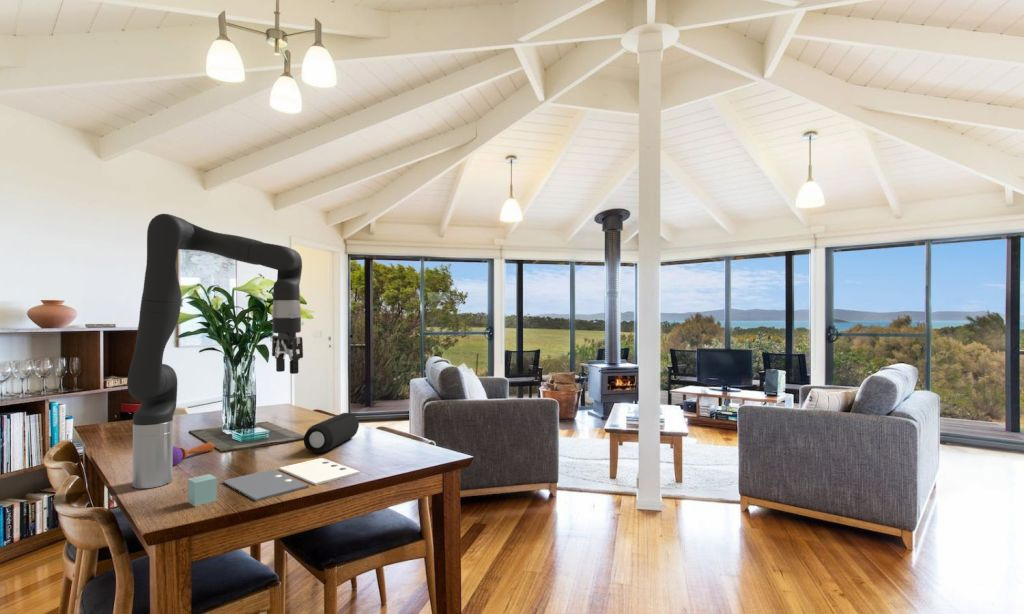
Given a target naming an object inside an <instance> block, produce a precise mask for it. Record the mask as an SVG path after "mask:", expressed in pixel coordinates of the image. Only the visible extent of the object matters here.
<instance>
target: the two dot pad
mask: <svg viewBox="0 0 1024 614" xmlns="http://www.w3.org/2000/svg"><path fill="white" fill-rule="evenodd" d="M222 482H223V483H222ZM221 483H222V484H224V483H225V484H227V485H229V486H230V487H229V486H228V487H229V488H231V487H232V488H231V489H233V488H234V489H233V490H235V489H236V490H238V491H239V492H238V491H237V492H238V493H240V492H241V493H240V494H242V493H243V495H244V494H245V495H244V496H245V497H247V496H248V497H247V498H249V499H251V500H253V501H255V502H260V501H263V500H266V499H269V498H270V499H271V498H273V497H278V496H281V495H285V494H288V493H292V492H296V491H300V490H304V489H308V488H309V487H310V485H309V484H307V483H306V482H303V481H301V480H298V479H295V478H293V476H289V475H286V474H285V473H282V472H280V471H278V470H275V469H273V468H271V469H268V470H263V471H258V472H254V473H250V474H246V475H240V476H236V477H232V478H229V479H225V480H222V481H221ZM225 484H224V485H225ZM227 485H226V486H227ZM236 490H235V491H236Z"/></svg>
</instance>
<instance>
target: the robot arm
mask: <svg viewBox="0 0 1024 614" xmlns="http://www.w3.org/2000/svg"><path fill="white" fill-rule="evenodd" d="M179 250H181V251H183V250H185V251H196V252H198V251H199V252H204V253H209V254H213V255H218V256H221V257H224V258H227V259H231V260H234V261H237V262H242V263H246V264H251V265H255V266H258V265H259V266H263V267H265V268H270V269H273V270H277V276H276V277H277V278H276V281H275V282H274V283H273V288H272V289H273V290H272V292H273V293H272V295H273V298H272V299H273V300H272V301H273V302H272V310H271V311H272V333H273V334H277V335H275V336H274V335H273V336H272V339H271V341H272V343H271V356H272V357H274V359H275V367H276V368H275V369H276V371H275V372H278V373H279V372H281V373H283V372H285V368H286V366H285V365H286V363H285V362H286V361H285V360H286V359H285V357H286V355H288V358H289V373H290V374H291V375H295V374H298V373H299V372H300V371H299V361H300V360H301V359H303V358H304V349H303V347H304V345H303V337H302V336H297V334H298V333H301V331H302V329H301V328H302V320H301V319H302V316H301V315H302V313H301V312H302V310H301V309H302V307H301V302H300V300H301V295H300V291H301V290H300V285H301V284H300V282H301V280H302V279H301V277H302V271H303V262H302V260H303V259H302V256H301V254H300V253H299V252H298V251H297V250H295V249H293V248H290V247H288V246H284V245H281V244H273V243H268V242H263V241H262V240H257V239H253V238H249V237H245V236H240V235H235V234H229V233H228V234H227V233H221V232H217V231H212V230H210V229H209V230H208V229H206V228H203V227H201V226H199V225H195V224H193V223H191V222H189V221H187V219H184V218H182V217H179V216H176V215H173V214H169V213H160V214H156V215H155V216H154V217H153V218H152V219H151V220H150V222H149V223H148V226H147V231H146V267H145V272H144V278H143V279H144V280H143V289H142V295H141V300H140V301H141V302H140V308H139V319H138V326H137V333H136V341H135V347H134V352H133V356H132V359H131V363H130V366H129V371H128V374H127V377H126V378H127V379H126V386H127V391H128V392H129V394H130V395H131V396H132V397H133V398H134V399H135V400H136V399H137V400H139V401H141V402H140V403H141V404H140V406H139V407H138V408H137V410H136V411H134V413H133V415H132V473H131V475H132V476H131V477H132V481H131V484H132V488H133V487H134V489H151V488H157V487H161V486H165V485H168V484H170V483H171V482H172V481H173V468H174V465H173V447H174V427H173V426H174V421H173V420H174V413H175V411H176V407H177V402H178V399H177V398H178V377H177V374H176V371H175V369H174V368H173V367H171V366H170V365H168V364H165V363H163V359H164V353H165V352H164V351H165V348H166V346H167V343H168V342H169V340H170V338H171V336H172V335H173V333H174V330H175V329H176V327H177V326H178V325H177V324H178V322H179V319H180V314H181V307H182V306H181V305H182V290H181V284H180V281H179V278H178V274H177V260H178V259H177V258H178V252H179ZM169 482H170V483H169ZM167 483H168V484H167Z"/></svg>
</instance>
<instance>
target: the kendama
mask: <svg viewBox="0 0 1024 614" xmlns="http://www.w3.org/2000/svg"><path fill="white" fill-rule="evenodd" d="M212 450H213V451H214V450H215V444H214V443H213V442H212V441H208V442H206V443H203V444H201V445H198V446H195V447H193V448H191V449H188V450H187V449H185V448H183V447H178V446H173V466H176V465H178V464H180V462H182V461H183V460H184V459H185V458H186V457H187V456H188V455H190V454H199V453H200V454H201V453H209V452H208V451H210V452H213V451H212Z"/></svg>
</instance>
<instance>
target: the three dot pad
mask: <svg viewBox="0 0 1024 614" xmlns="http://www.w3.org/2000/svg"><path fill="white" fill-rule="evenodd" d="M278 470H279V471H281V472H284V473H286V474H288V475H291V476H292V477H295V478H298V479H300V480H302V481H305V482H306V483H309V484H312V485H314V486H319V485H321V484H325V483H326V484H327V483H329V482H333V481H337V480H340V479H345V478H348V477H351V476H356V475H360V474H361V471H359V470H357V469H354V468H352V467H349V466H346V465H344V464H340V463H338V462H334V461H332V460H329V459H327V458H323V457H319V458H315V459H311V460H307V461H303V462H299V463H298V462H297V463H294V464H289V465H283V466H280V467H278Z"/></svg>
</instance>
